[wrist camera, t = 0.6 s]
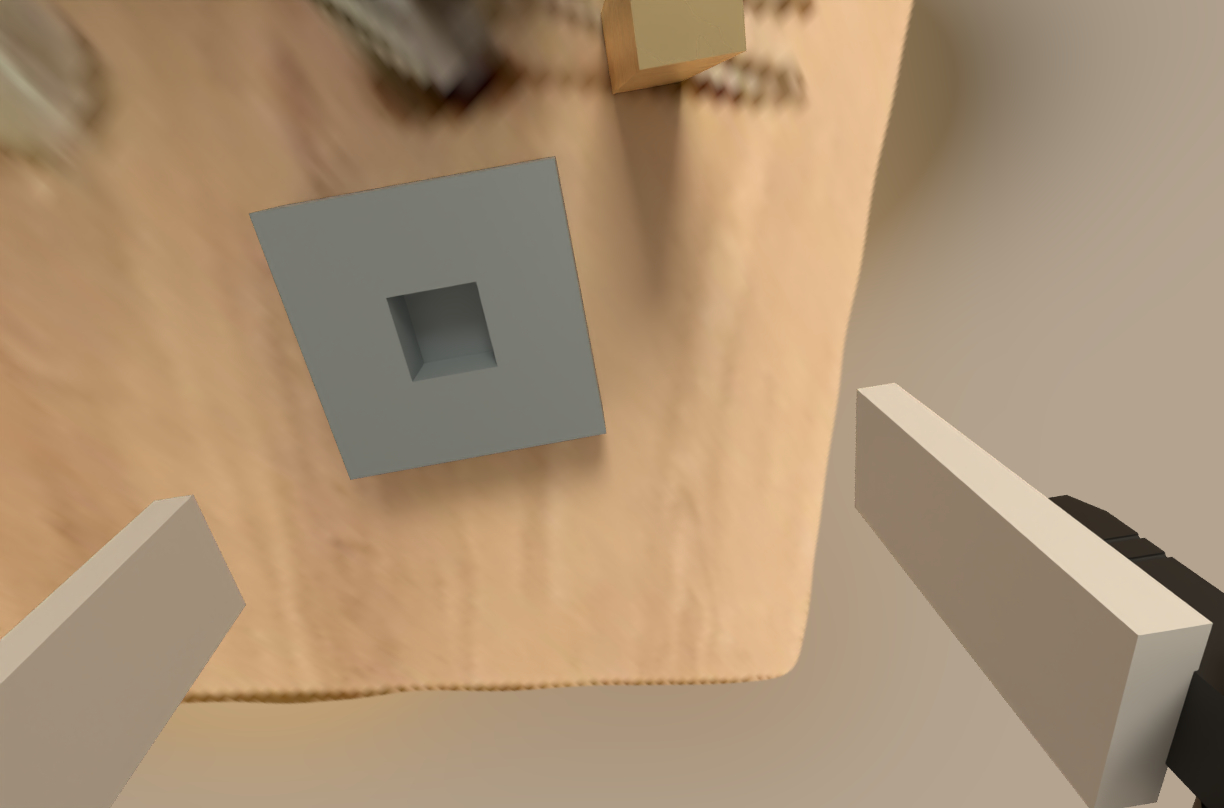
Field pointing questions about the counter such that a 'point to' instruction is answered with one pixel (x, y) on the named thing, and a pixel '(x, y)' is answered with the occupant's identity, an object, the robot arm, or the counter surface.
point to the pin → (668, 39)
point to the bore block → (439, 316)
